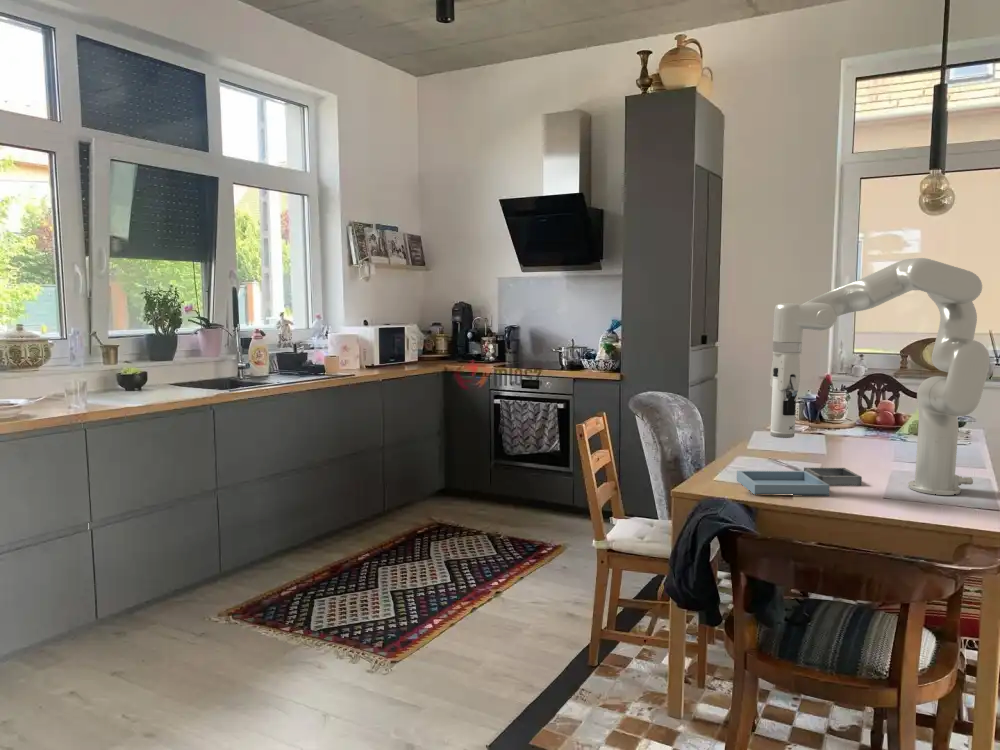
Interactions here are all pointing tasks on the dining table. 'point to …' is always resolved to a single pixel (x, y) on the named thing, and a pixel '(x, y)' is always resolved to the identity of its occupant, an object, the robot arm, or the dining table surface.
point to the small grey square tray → (835, 476)
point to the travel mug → (780, 413)
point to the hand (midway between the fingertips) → (784, 412)
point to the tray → (783, 483)
